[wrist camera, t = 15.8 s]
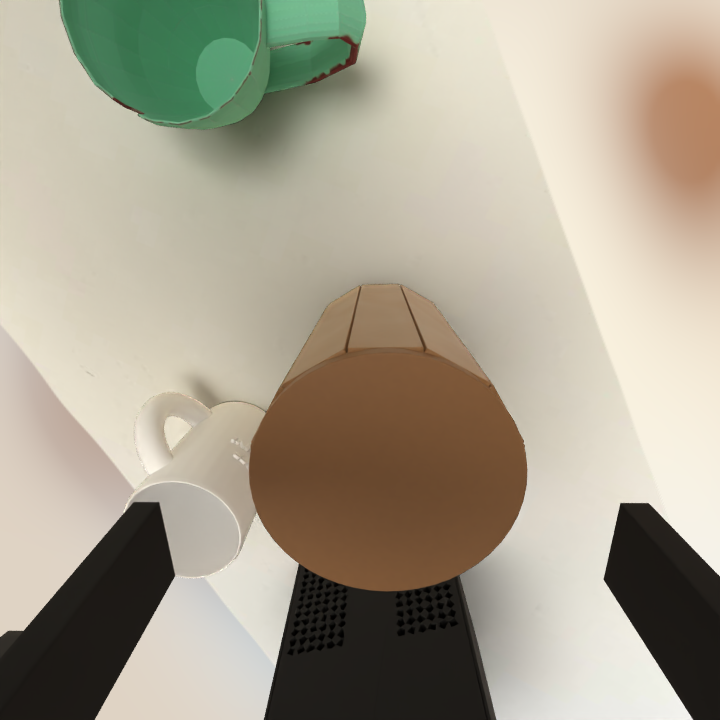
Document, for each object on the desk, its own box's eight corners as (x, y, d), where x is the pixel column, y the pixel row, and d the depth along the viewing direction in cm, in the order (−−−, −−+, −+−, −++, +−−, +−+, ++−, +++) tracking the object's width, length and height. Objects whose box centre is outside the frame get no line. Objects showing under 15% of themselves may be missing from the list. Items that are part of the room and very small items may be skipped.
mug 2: (222, 347, 35) (148, 405, 24) (301, 451, 38) (270, 547, 27) (151, 393, 37) (51, 468, 25) (232, 489, 40) (175, 596, 28)
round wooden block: (307, 285, 29) (232, 353, 14) (453, 282, 28) (544, 351, 13) (316, 416, 32) (262, 590, 17) (447, 416, 32) (513, 593, 16)
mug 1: (175, 159, 31) (86, 130, 21) (148, -1, 28) (29, -119, 18) (371, 148, 30) (369, 112, 20) (365, -18, 27) (360, -151, 17)
